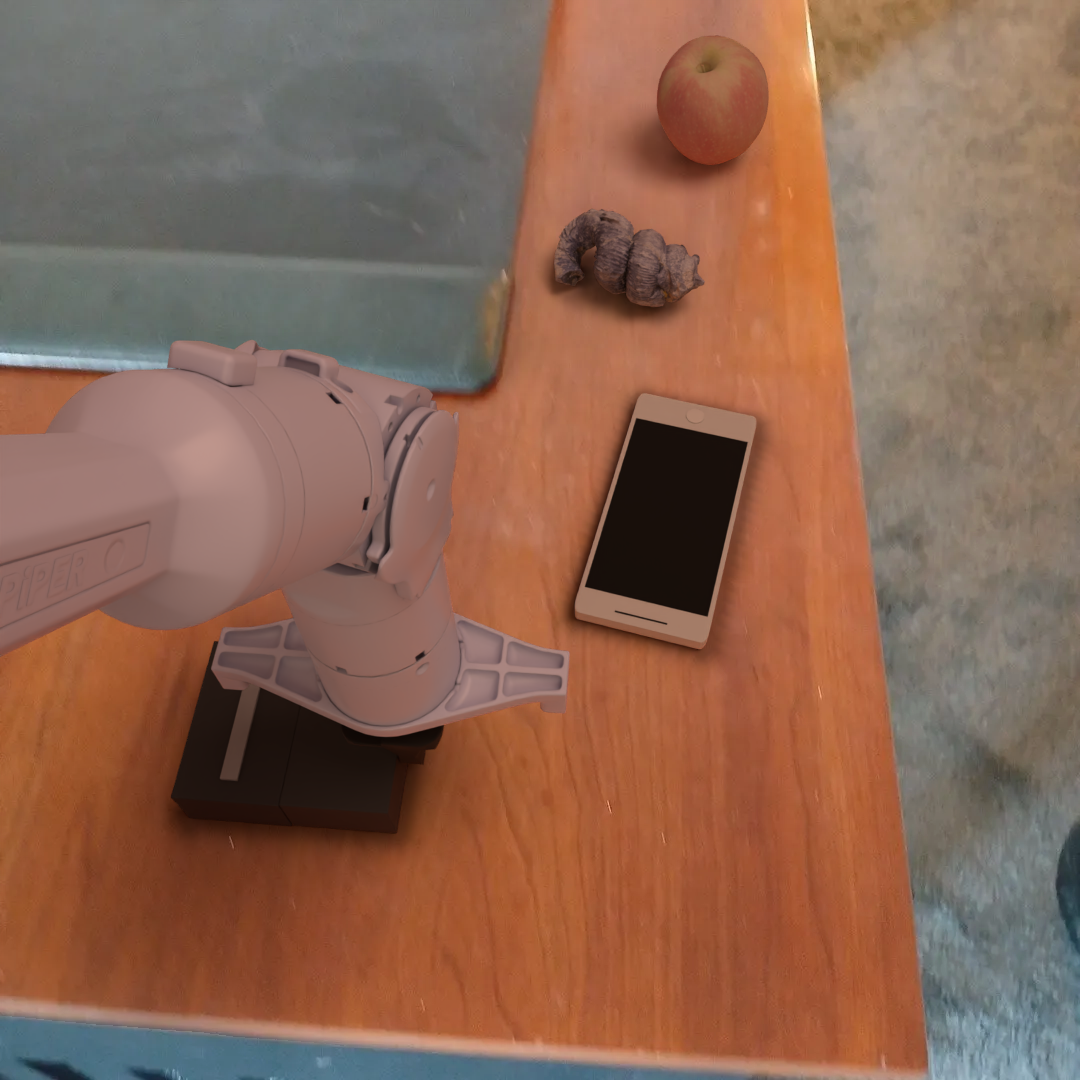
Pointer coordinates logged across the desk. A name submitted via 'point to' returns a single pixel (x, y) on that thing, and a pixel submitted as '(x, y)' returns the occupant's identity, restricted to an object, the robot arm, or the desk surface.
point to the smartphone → (667, 521)
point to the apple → (712, 99)
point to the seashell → (626, 259)
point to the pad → (340, 780)
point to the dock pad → (236, 754)
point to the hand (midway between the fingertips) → (415, 744)
